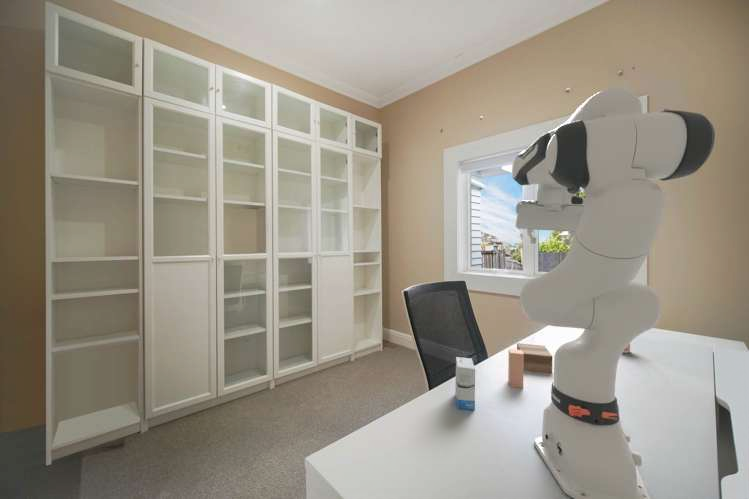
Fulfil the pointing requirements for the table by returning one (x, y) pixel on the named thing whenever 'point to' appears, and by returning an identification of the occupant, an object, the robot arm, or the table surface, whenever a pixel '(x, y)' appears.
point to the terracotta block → (516, 368)
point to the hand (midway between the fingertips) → (549, 244)
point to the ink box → (465, 383)
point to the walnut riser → (536, 357)
